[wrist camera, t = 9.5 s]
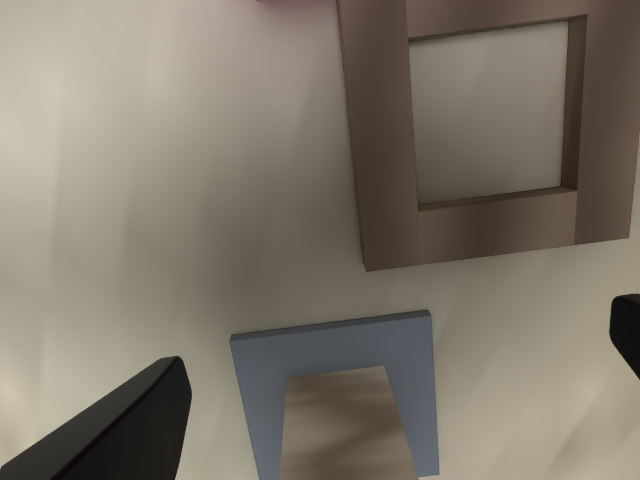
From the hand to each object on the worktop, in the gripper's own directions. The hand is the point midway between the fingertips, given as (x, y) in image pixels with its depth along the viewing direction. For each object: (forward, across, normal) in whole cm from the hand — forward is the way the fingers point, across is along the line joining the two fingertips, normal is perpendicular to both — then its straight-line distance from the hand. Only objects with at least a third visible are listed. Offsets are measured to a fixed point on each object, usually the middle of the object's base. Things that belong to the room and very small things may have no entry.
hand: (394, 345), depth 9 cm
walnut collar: (+12, -6, -3) cm, 14 cm away
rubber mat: (+11, +2, +11) cm, 16 cm away
